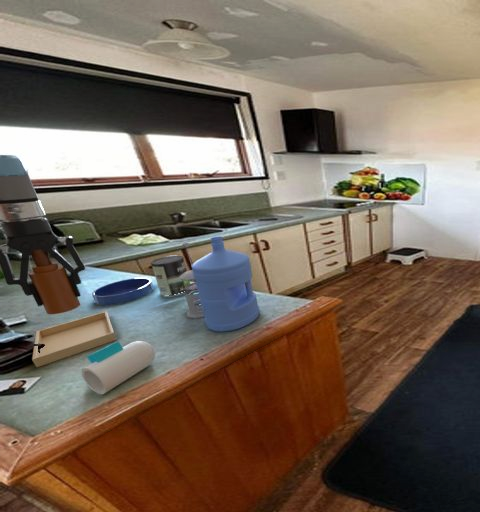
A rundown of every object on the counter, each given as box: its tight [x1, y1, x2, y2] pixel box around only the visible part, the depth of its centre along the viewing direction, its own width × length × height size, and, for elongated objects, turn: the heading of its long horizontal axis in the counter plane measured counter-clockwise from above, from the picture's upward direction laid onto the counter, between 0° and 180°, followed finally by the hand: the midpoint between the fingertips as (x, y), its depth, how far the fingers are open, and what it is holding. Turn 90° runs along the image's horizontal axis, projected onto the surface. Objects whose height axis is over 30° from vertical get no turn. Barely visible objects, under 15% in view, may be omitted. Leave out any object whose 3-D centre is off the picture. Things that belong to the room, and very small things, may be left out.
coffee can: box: [150, 255, 191, 298], centre depth 108 cm, size 10×10×14 cm
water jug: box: [191, 236, 260, 332], centre depth 85 cm, size 16×16×28 cm
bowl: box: [91, 277, 155, 306], centre depth 107 cm, size 17×17×4 cm
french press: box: [180, 242, 205, 319], centre depth 93 cm, size 10×12×25 cm
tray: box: [31, 310, 118, 368], centre depth 81 cm, size 15×19×2 cm
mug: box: [80, 340, 156, 395], centre depth 66 cm, size 12×9×12 cm
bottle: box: [28, 249, 81, 315], centre depth 75 cm, size 6×6×18 cm
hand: (60, 299), depth 77 cm, fingers closed on bottle, 6 cm apart
